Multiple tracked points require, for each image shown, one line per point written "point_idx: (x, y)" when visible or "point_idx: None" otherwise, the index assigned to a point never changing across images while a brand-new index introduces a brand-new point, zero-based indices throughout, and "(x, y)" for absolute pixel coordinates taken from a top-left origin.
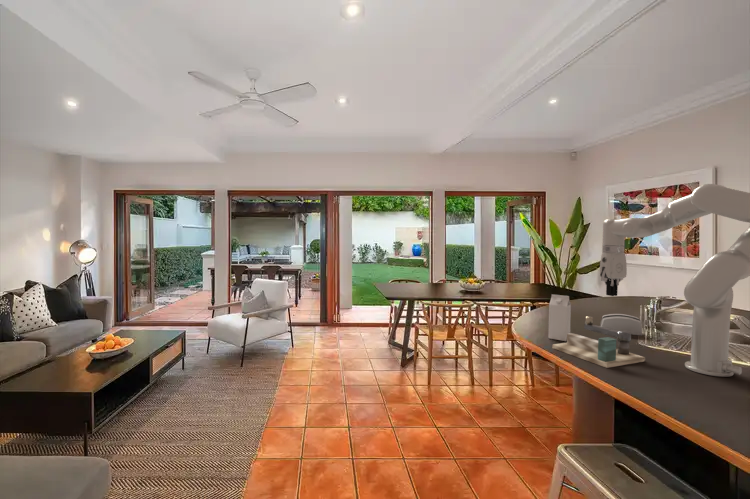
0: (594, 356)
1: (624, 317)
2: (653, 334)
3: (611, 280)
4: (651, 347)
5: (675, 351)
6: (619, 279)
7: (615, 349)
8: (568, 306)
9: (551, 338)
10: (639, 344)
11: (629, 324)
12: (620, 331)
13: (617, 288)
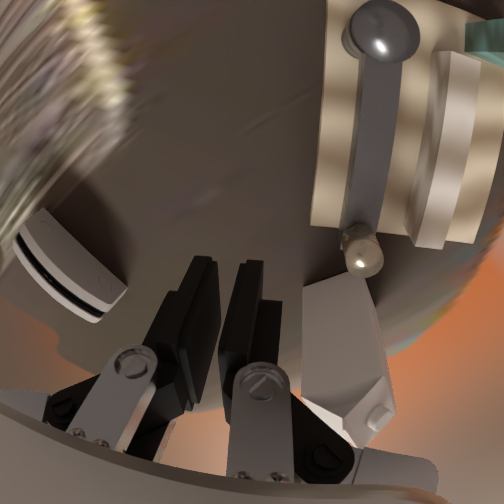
0: (489, 87)
1: (50, 268)
2: (12, 201)
3: (288, 458)
4: (121, 86)
5: (92, 30)
6: (55, 417)
7: (488, 21)
8: (348, 381)
9: (373, 303)
10: (127, 129)
11: (51, 243)
12: (394, 46)
13: (169, 312)
